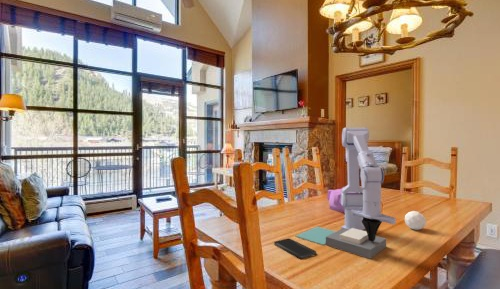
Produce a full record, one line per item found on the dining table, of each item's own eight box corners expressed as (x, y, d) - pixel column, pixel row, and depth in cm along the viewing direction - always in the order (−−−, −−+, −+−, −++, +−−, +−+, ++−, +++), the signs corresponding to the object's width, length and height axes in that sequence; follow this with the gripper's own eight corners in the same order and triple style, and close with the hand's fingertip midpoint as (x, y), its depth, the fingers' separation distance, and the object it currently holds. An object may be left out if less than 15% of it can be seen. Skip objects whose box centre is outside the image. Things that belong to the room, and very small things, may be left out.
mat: (316, 227, 115) (316, 226, 115) (343, 234, 106) (343, 233, 106) (295, 236, 104) (295, 235, 104) (323, 245, 95) (323, 244, 95)
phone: (300, 257, 84) (272, 242, 96) (300, 260, 84) (272, 245, 96) (318, 252, 88) (289, 237, 100) (318, 255, 88) (289, 240, 100)
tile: (352, 231, 100) (352, 228, 100) (371, 236, 95) (371, 232, 95) (339, 238, 93) (339, 234, 93) (359, 244, 88) (359, 239, 88)
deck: (343, 235, 105) (343, 227, 105) (386, 246, 93) (386, 238, 93) (325, 244, 95) (325, 236, 95) (370, 259, 84) (370, 249, 84)
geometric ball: (409, 235, 112) (397, 218, 116) (422, 226, 115) (409, 210, 118) (421, 231, 106) (407, 214, 109) (434, 222, 108) (420, 205, 111)
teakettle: (325, 205, 154) (325, 185, 153) (354, 205, 153) (354, 185, 153) (334, 213, 137) (334, 190, 136) (366, 213, 136) (366, 190, 136)
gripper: (346, 199, 92) (346, 237, 93) (390, 207, 82) (390, 249, 82) (355, 196, 97) (355, 232, 98) (397, 203, 87) (397, 243, 87)
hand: (371, 240), depth 90 cm, fingers closed
